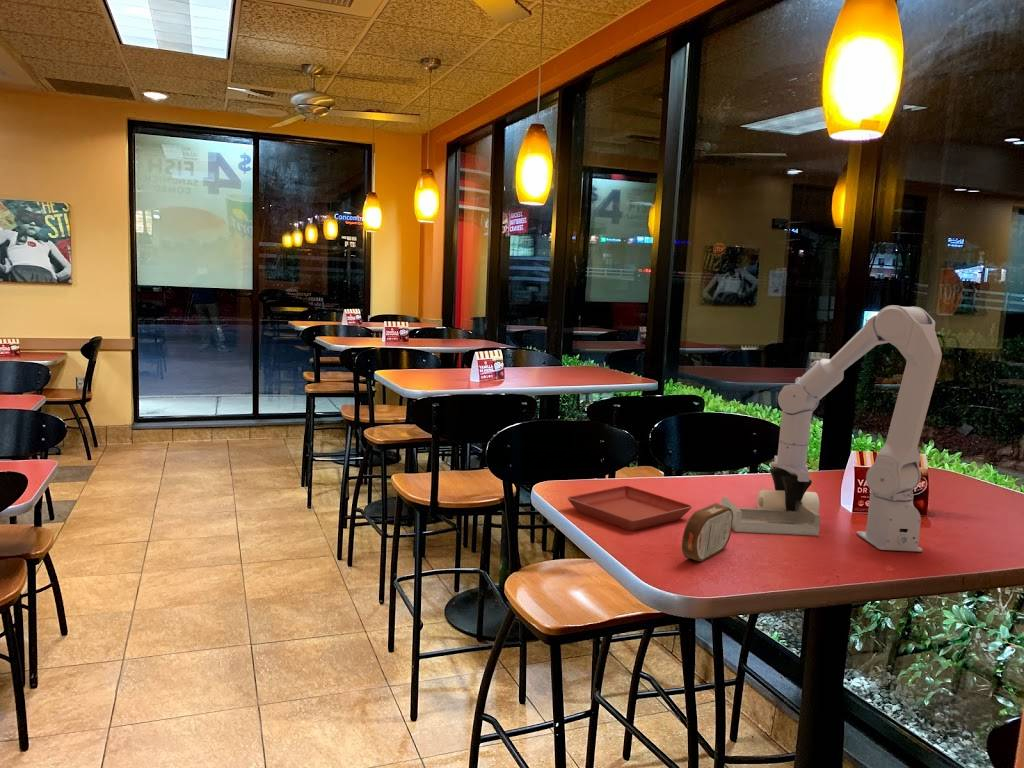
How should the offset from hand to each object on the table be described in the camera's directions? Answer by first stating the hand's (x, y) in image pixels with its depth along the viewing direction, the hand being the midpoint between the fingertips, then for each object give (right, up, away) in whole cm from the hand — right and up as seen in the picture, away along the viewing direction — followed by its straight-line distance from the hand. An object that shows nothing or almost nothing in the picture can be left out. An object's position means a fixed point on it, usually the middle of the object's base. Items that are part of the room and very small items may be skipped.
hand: (786, 506), depth 159 cm
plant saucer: (-34, -1, -6) cm, 34 cm away
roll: (0, -2, 0) cm, 2 cm away
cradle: (-7, -2, -9) cm, 11 cm away
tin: (-24, -4, -28) cm, 37 cm away
